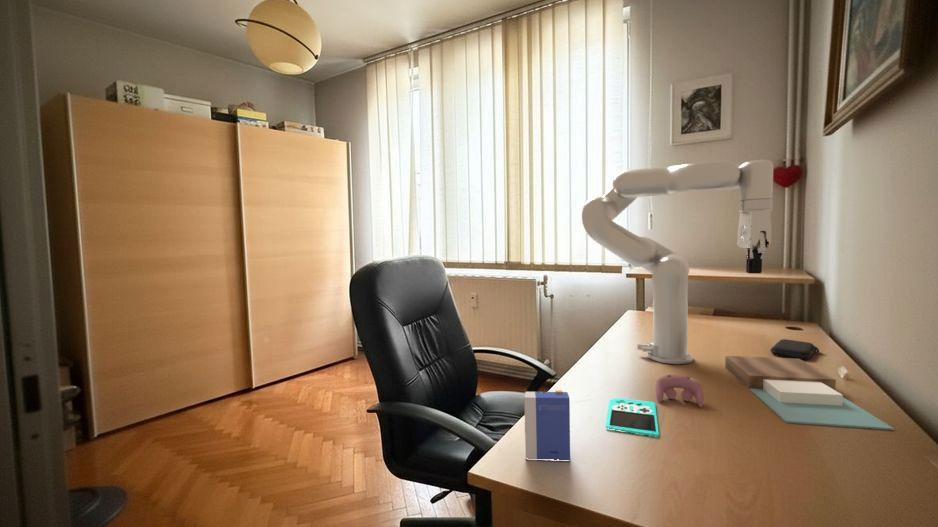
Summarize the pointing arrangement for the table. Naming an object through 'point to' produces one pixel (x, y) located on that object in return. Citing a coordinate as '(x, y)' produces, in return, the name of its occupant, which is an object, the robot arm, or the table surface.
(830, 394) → the box
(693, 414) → the table surface
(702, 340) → the table surface
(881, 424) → the mat
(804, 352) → the carrying case or bag
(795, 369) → the brown wooden flat block
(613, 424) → the handheld game console
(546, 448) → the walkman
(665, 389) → the video game controller
